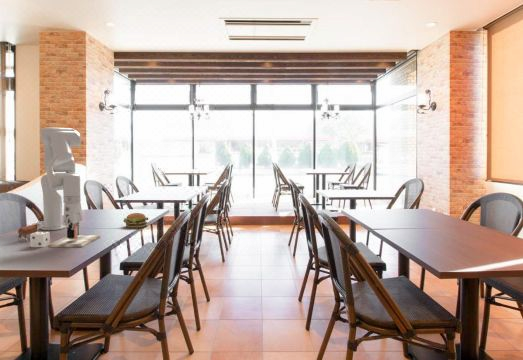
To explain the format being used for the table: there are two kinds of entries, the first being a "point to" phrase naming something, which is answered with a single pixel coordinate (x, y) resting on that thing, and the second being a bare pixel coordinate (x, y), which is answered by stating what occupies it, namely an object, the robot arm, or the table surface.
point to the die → (39, 239)
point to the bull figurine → (28, 230)
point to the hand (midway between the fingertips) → (73, 236)
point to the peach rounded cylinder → (75, 232)
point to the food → (135, 220)
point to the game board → (74, 241)
